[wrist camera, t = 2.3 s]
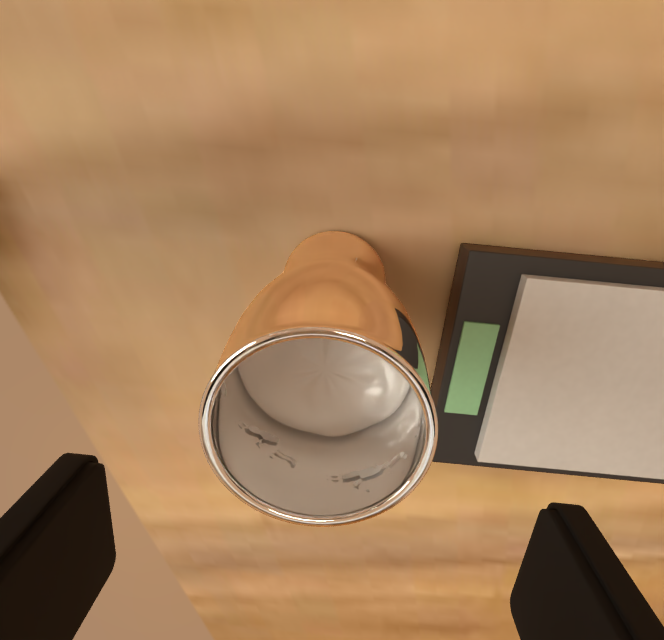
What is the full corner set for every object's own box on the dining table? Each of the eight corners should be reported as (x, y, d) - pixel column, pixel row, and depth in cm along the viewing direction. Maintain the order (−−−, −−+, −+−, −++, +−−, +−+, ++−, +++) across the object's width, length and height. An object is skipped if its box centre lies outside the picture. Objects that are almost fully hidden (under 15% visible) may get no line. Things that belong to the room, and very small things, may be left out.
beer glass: (366, 349, 27) (385, 559, 13) (262, 312, 26) (165, 492, 12) (411, 247, 25) (494, 374, 11) (298, 204, 24) (227, 278, 10)
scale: (420, 442, 30) (427, 470, 27) (460, 242, 24) (473, 253, 22) (649, 463, 30) (678, 494, 27) (738, 269, 24) (784, 283, 22)
